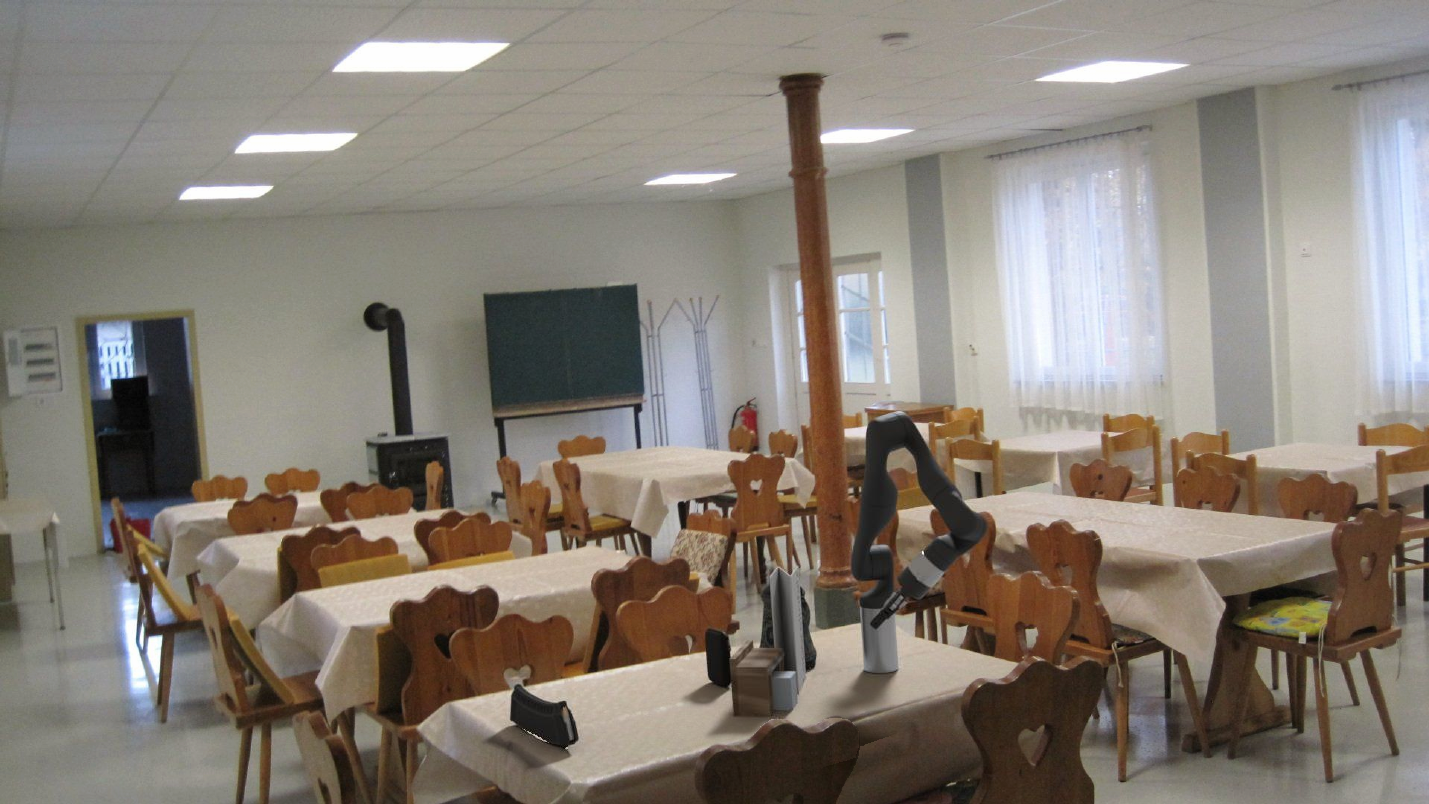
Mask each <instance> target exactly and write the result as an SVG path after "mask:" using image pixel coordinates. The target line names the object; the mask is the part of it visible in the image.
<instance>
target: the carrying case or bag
mask: <svg viewBox="0 0 1429 804" xmlns="http://www.w3.org/2000/svg"><path fill="white" fill-rule="evenodd" d="M704 641H705V643H704V644H705V656H706V659H705V660H706V671H707V672H706V673H707V677H708V680H709V681H711V682H712V684H713V683H714V684H716V685H719V686H721V687H724V688H728V687H731V674H730V660H729V659H730V658H731V657H732V654H731V651H732V648H731V647H732V646H731V644H730V637H729V634H727V633H726V632H725V631H723V630H720V629H715V628H714V627H713V628H712V627H710V628H708V629H706V631H705V633H704Z"/></svg>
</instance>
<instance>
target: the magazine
mask: <svg viewBox="0 0 1429 804" xmlns="http://www.w3.org/2000/svg"><path fill="white" fill-rule="evenodd" d="M509 713H510V714H509V720H510V722H513V723H514V724H515V725H516V726H517V727H519V729H521V728H523V729H525V730H526V731H529V732H531V733H532V734H535V735H537V736H538V737H541V738H542V739H543V740H546V741H547V742H549V743H548V744H550V743H552V744H551V745H554V744H556V745H555V746H559V745H560V747H562V748H563V747H564V748H566V747H569V746H573V745H575V744H576V743H578V741H579V740H580V739H579V737H580V736H579V734H578V733H579V732H578V728H577V727H578V726H577V723H576V720H575V718H574V716H573V715H574V714H573V713H572V711H571V709H570V708H569V707H568V704H567V700H561V701H558V702H553V701H548V700H545V699H543V698H540V697H538V696H536V695H534V694H532V693H531V692H530V691H528V690H527V689H526V688H525V687H523V685H522V684H521V683H517V684H515V685H514V686H513V691H512V693H511V695H510V711H509ZM523 729H522V730H523ZM564 748H563V749H564Z"/></svg>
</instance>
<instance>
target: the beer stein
mask: <svg viewBox="0 0 1429 804" xmlns="http://www.w3.org/2000/svg"><path fill="white" fill-rule="evenodd" d="M759 595H760V600H761V601H762V603H763V608H762V611H763V612H762V622H761V623H762V625H761V637H760V643H759V647H758V648H774V635H773V620H772V606H771V592H770V583H769V584H767V586H765V587H764V588H763V589H762V590H761V592H760V594H759ZM800 596H801V611H802V625H803V640H804V655H805V669H806V671H808V670H811V669H812V667H813V668H814V667H815V666H816V664H817V663H816V662H817V655H818V653H817V649H816V647H815V645H814V642H813V638H812V636H811V632H810V624H811V609H810V605H809V603H808V602H807V600H806V598H805V597H806V591H805V589H804V588H803V587H802V586H801V585H800Z"/></svg>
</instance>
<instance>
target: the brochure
mask: <svg viewBox="0 0 1429 804" xmlns="http://www.w3.org/2000/svg"><path fill="white" fill-rule="evenodd" d="M799 567H800V566H799V565H796V566H795V569H794V570H793V572H792V573H791V574H789V573H788V572H786V571H785V570H784V569H783V568H781V567H780V566H779V565H777V567H776V568H775V569H774V570H773V572H772V573H771V574H770V576H769V584H770V592H771V606H772V620H773V635H774V648H782V649H783V652H785V656H784V657H783V664H784V671H796V683H797V695H799V694H800V692H801V690H802V688H803V687H804V684H805V681H806V679H807V673H806V671H807V670H806V669H805V655H804V640H803V625H802V611H801V596H800V586H801V584H800V570H799V569H800V568H799Z"/></svg>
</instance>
